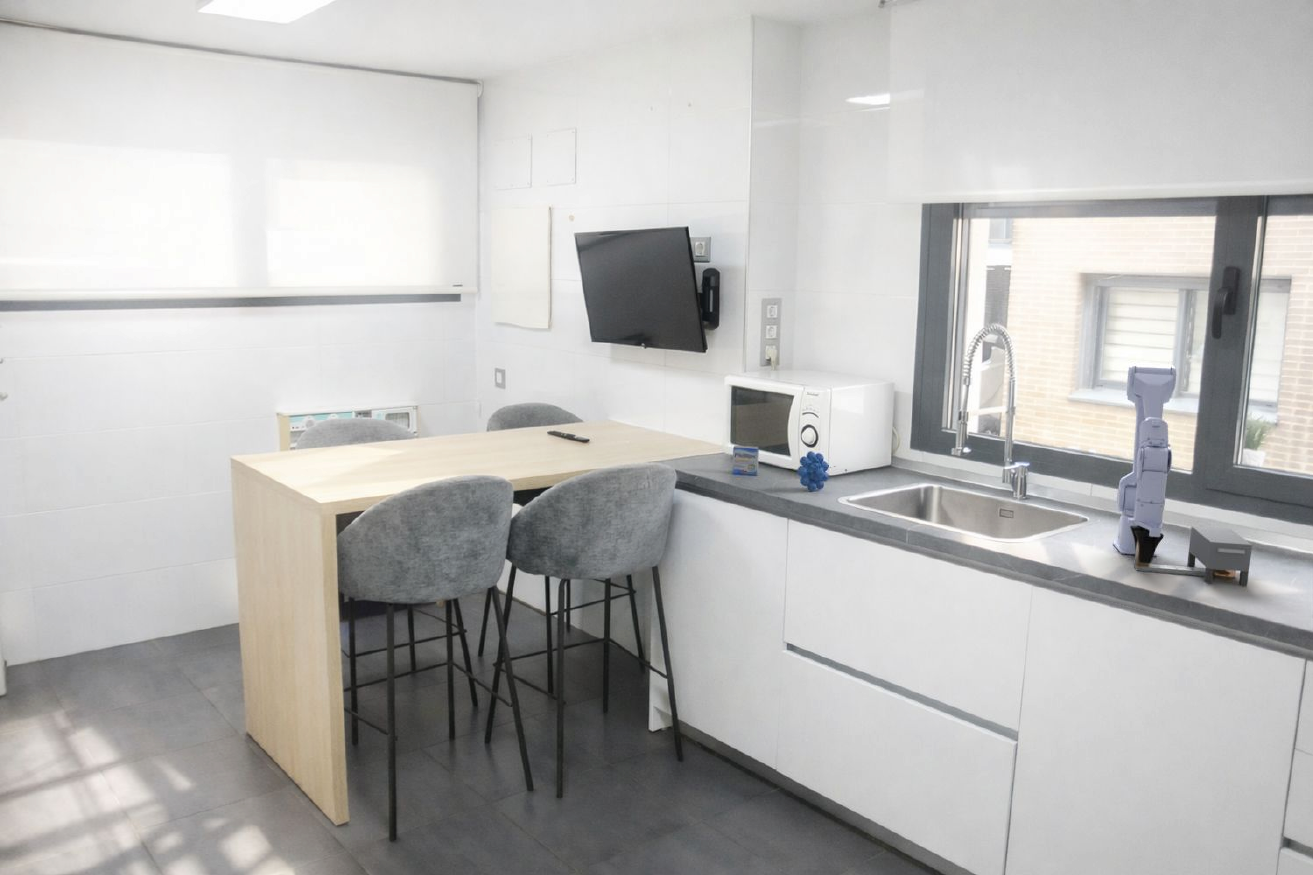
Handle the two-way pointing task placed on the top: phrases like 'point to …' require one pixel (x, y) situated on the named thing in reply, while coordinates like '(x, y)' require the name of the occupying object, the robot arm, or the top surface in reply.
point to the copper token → (1224, 574)
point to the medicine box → (745, 460)
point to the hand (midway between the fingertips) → (1143, 560)
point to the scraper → (1166, 567)
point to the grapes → (813, 471)
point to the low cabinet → (1219, 551)
